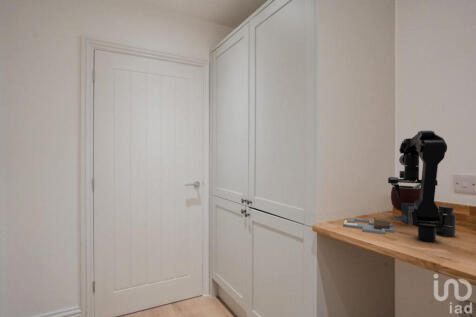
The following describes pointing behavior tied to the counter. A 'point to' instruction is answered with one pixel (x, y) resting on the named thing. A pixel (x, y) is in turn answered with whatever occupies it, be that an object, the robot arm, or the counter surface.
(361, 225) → the trap tray
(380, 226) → the walnut block
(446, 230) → the supplement bottle
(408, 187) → the mate gourd
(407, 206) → the small box
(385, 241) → the counter surface
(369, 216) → the counter surface
